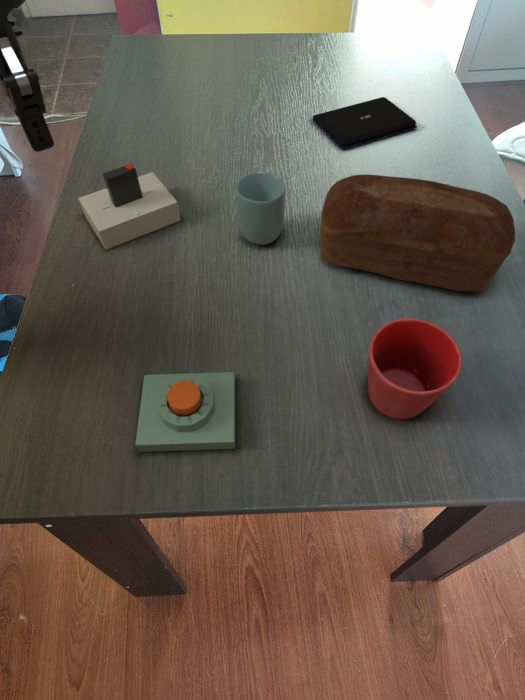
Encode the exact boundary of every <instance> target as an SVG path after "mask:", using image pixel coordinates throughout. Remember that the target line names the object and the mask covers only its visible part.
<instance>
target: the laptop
mask: <svg viewBox="0 0 525 700" xmlns="http://www.w3.org/2000/svg"><path fill="white" fill-rule="evenodd" d="M312 122H313V123H314V124H315V125H316V126H317V127H318V128H319V129H320V130H321V131H322V132H323V133H324V134H325V135H326V136H327V137H328V138H329V139H330V140H331V141H332V142H333V144H335V145H336V146H337V147H338V148H339V149H340V150H347V149H350V148H353V147H357V146H360V145H363V144H367V143H371V142H374V141H377V140H381V139H384V138H388V137H391V136H394V135H399V134H402V133H404V132H409V131H412V130H415V129H417V127H418V126H417V121H416V120H415V119H414V118H413V117H411V116H410V115H409V114H407V113H406V112H405V111H403V109H401V108H400V107H398V106H397V105H396V104H394V102H392V101H391V100H390V99H388V98H386V97H385V96H381V97H378V98H375V99H374V98H373V99H371V100H366V101H362V102H358V103H355V104H351V105H348V106H344V107H341V108H340V107H339V108H336V109H332V110H329V111H324V112H321V113H317V114H313V116H312Z"/></svg>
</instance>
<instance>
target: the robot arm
mask: <svg viewBox="0 0 525 700" xmlns="http://www.w3.org/2000/svg"><path fill="white" fill-rule="evenodd" d="M25 2H26V0H0V93H1V95H2V96H3V97H5V98H7V104H8V106H9V108H11V109H12V112H13V114H14V115H16V118H17V119H18V122H19V123H20V126H21V128H22V131H23V132H24V134H25V138H26V139H27V141H28V143H29V145H30V147H31V149H32V150H33V151H34V152H38V153H39V152H42V151H45V150H49V149H52V148H53V147H54V146H55V142H54V139H53V136H52V133H51V131H50V129H49V126H48V124H47V121H46V118H45V116H44V114H46V113H47V111H46V110H47V107H46V104H45V101H44V97H43V91H42V89H41V83H40V81H39V80H40V77H39V74H38V73H37V72H36V71H35V69H34V67H33V64H32V61H31V59H30V54H31V50H30V48H29V46H28V41H27V39H26V37H25V35H24V33H23V31H22V30H21V29H18V26H17V25H16V22H15V21H14V19H9V18H8V16H9V14H10V13H11V12H12V11H13V10H14V9H18V8H20V7H21V6H22V5H24V3H25Z"/></svg>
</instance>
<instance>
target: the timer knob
mask: <svg viewBox="0 0 525 700" xmlns="http://www.w3.org/2000/svg"><path fill="white" fill-rule="evenodd" d="M102 176H103V180H104V182H105V186H106V188H107V189H108V192H109V195H110V198H111V202H112V203H113V205H114V206H115V207H119V206H121V205H124V204H127V203H129V202H132V201H135V200H137V199H140V198H142V197H143V196H142V192H141V188H140V184H139V180H138V177H139V176H138V173H137V169H136V168H135V166H134V164H132V163H131V162H130V163H126V164H124V165H123V166H121V167H118V168H115V169H111V170H109V171H106V172H103V173H102Z"/></svg>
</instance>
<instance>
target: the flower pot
mask: <svg viewBox="0 0 525 700" xmlns="http://www.w3.org/2000/svg"><path fill="white" fill-rule="evenodd" d="M367 362H368V363H367V364H368V366H367V368H368V371H367V373H368V375H367V378H368V379H367V382H368V383H367V384H368V385H367V390H368V396H369V400H370V402H371V403H372V405H373V407H374V408H375V409H377V410H378V411H379V412H380V413H381V414H383V415H384V416H387V417H389V418H391V419H396V420H407V419H411V418H414V417H416V416H418V415H419V414H421V413H422V412H423V411H425V410H426V409H427V408H428V407H430V406H431V405H432V404H433V403H434V402H435V401H437V399H438V398H440V397H441V396H442V395H443V394H444V393H445V392H446V391H447V390H448V389H449V388H450V387H451V386H453V384H454V383H455V382H456V381H457V379H459V376H460V374H461V371H462V366H463V356H462V353H461V349H460V347H459V345H458V343H457V341H456V340H455V338H453V336H451V335H450V333H449V332H447V331H446V330H444V329H443V328H442V327H441V326H439V325H437V324H435V323H432V322H430V321H429V320H428V321H427V320H424V319H420V318H411V317H410V318H409V317H408V318H407V317H405V318H399V319H395V320H391V321H390V322H387V323H385V324H384V325H382V326H381V327H380V328H379V329H378V330H376V332H375V333H374V335H373V337H372V339H371V340H370V344H369V349H368V361H367Z"/></svg>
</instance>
